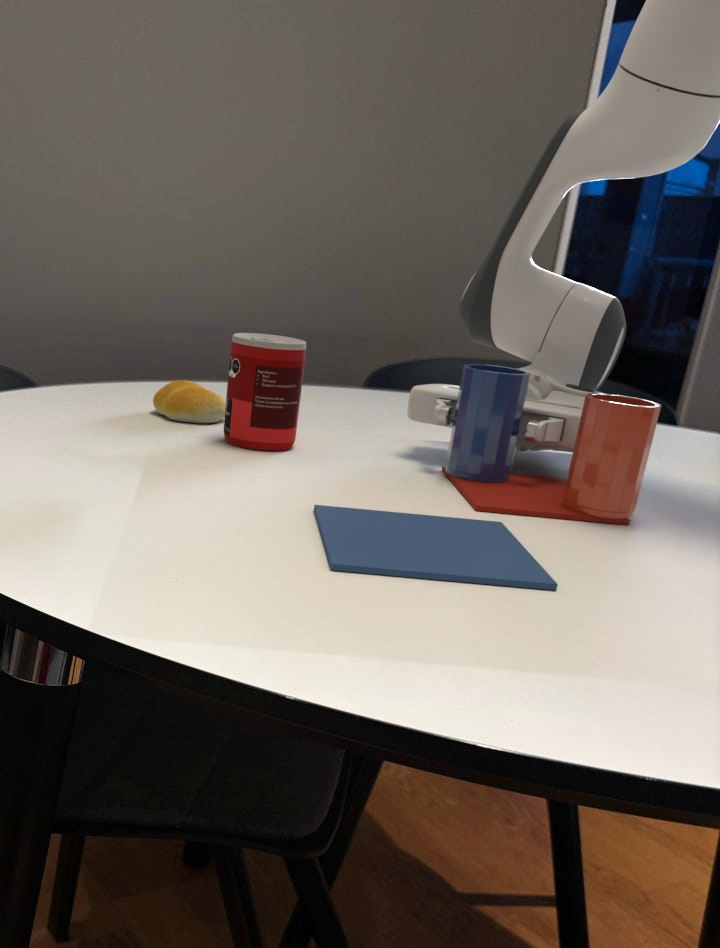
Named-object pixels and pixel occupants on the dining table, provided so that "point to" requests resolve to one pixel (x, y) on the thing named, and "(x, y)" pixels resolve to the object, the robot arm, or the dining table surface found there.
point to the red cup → (610, 455)
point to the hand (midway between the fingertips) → (485, 424)
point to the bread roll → (189, 403)
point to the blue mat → (427, 548)
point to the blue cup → (487, 422)
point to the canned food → (264, 391)
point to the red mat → (523, 497)
